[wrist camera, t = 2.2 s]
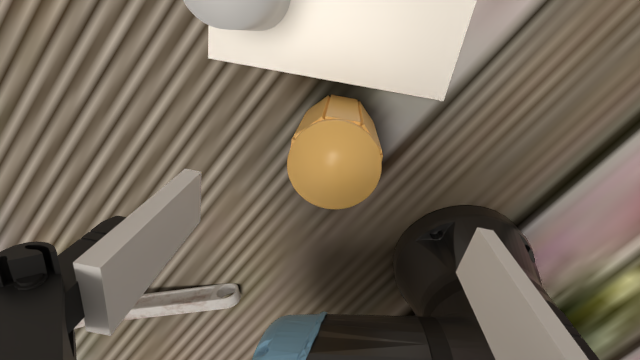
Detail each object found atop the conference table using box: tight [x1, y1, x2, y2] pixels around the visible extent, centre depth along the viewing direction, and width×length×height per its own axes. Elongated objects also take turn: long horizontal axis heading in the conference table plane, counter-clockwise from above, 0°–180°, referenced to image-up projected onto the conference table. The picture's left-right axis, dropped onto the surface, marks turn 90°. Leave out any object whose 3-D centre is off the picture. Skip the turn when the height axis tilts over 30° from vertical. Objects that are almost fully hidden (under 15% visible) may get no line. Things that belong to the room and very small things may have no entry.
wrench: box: [74, 283, 241, 329], centre depth 42 cm, size 8×2×30 cm
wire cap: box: [287, 95, 383, 209], centre depth 28 cm, size 7×7×10 cm
